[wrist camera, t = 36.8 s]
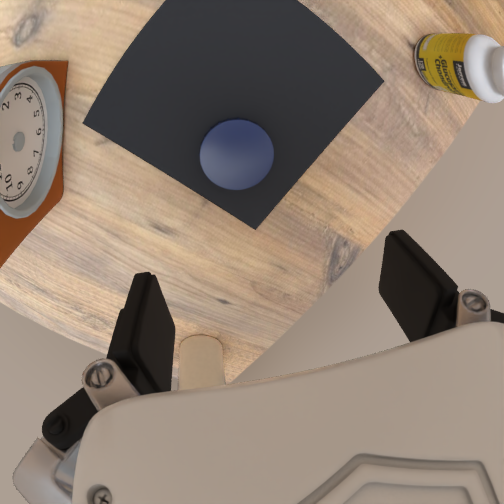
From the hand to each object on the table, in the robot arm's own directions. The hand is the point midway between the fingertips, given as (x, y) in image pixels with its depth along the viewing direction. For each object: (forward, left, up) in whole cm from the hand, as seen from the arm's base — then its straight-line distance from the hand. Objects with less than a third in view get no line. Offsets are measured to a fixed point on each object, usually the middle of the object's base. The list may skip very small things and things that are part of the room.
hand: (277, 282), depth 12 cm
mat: (+4, -5, -18) cm, 19 cm away
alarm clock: (+19, +9, -18) cm, 28 cm away
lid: (+1, -1, -16) cm, 16 cm away
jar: (-11, +24, -18) cm, 32 cm away
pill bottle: (-9, -22, -18) cm, 30 cm away
